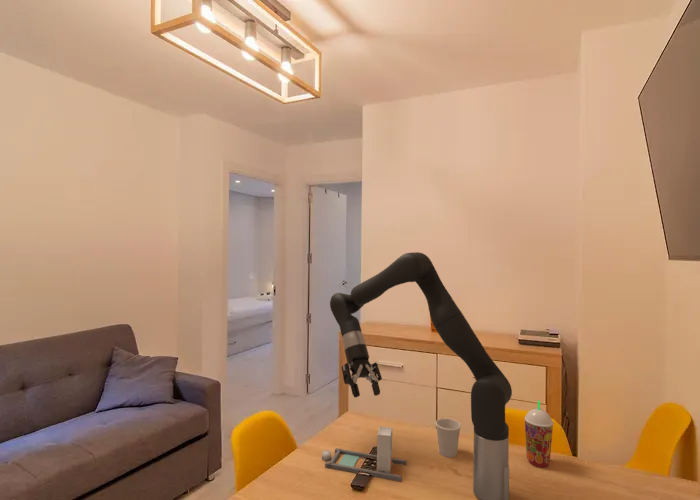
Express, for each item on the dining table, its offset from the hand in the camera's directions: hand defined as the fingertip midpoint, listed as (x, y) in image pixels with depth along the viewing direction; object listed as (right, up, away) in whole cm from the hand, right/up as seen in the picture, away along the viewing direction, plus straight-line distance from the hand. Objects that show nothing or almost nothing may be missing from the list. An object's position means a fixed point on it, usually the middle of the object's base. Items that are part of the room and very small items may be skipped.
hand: (367, 395), depth 127 cm
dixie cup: (+27, -22, +7) cm, 36 cm away
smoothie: (+55, -22, +1) cm, 59 cm away
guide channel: (-2, -22, 0) cm, 22 cm away
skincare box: (+5, -22, -3) cm, 23 cm away
